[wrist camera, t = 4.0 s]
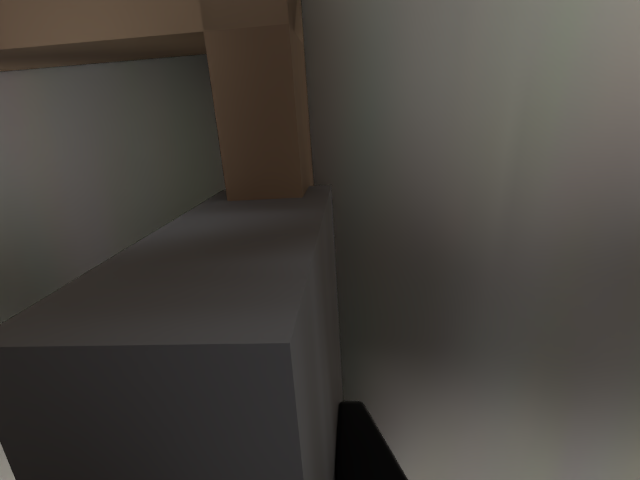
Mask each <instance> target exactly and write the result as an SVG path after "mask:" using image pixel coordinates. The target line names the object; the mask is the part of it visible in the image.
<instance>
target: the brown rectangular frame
mask: <svg viewBox="0 0 640 480" xmlns="http://www.w3.org/2000/svg"><path fill="white" fill-rule="evenodd" d="M200 54H207V60H208V67H209V74H210V82H211V89H212V96H213V103H214V110H215V117H216V124H217V131H218V138H219V146H220V153H221V160H222V167H223V174H224V181H225V188H226V190H222V191H221V192H219V193H217V194H216V195H214V196H212V197H211V198H209V199H207V200H206V201H204V202H202V203H201V204H199V205H198V206H196V207H194V208H193V209H191V210H189V211H188V212H186V213H184V214H183V215H181V216H179V217H178V218H176V219H174V220H173V221H171V222H169V223H168V224H166V225H164V226H163V227H161V228H159V229H158V230H156V231H154V232H153V233H151V234H149V235H148V236H146V237H144V238H143V239H141V240H140V241H138V242H136V243H135V244H133V245H131V246H130V247H128V248H126V249H125V250H123V251H121V252H120V253H118V254H116V255H115V256H113V257H111V258H110V259H108V260H106V261H105V262H103V263H101V264H100V265H98V266H96V267H95V268H93V269H91V270H90V271H88V272H86V273H85V274H83V275H82V276H80V277H78V278H77V279H75V280H73V281H72V282H70V283H68V284H67V285H65V286H63V287H62V288H60V289H58V290H57V291H55V292H53V293H52V294H50V295H48V296H47V297H45V298H43V299H42V300H40V301H38V302H37V303H35V304H33V305H32V306H30V307H28V308H27V309H25V310H24V311H22V312H20V313H19V314H17V315H15V316H14V317H12V318H10V319H9V320H7V321H5V322H4V323H2V324H0V442H1V445H2V447H3V450H4V452H5V455H6V457H7V459H8V462H9V464H10V467H11V469H12V472H13V474H14V477H15V479H16V480H337V471H336V440H337V425H338V409H339V404H340V402H341V401H343V386H342V368H341V349H340V331H339V313H338V295H337V277H336V259H335V241H334V223H333V204H332V186H331V185H319V186H314V182H313V168H312V154H311V139H310V125H309V110H308V96H307V82H306V67H305V53H304V38H303V24H302V10H301V0H0V71H10V70H22V69H34V68H46V67H58V66H70V65H82V64H93V63H105V62H117V61H129V60H141V59H153V58H165V57H177V56H189V55H200Z"/></svg>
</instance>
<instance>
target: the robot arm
mask: <svg viewBox="0 0 640 480" xmlns="http://www.w3.org/2000/svg"><path fill="white" fill-rule="evenodd" d="M336 471H337V480H408V479H407V477H406V475H405V474H404V472H403V470H402V469H401V467H400V465H399V463H398V462H397V460H396V458H395V457H394V455H393V453H392V451H391V450H390V448H389V446H388V445H387V443H386V441H385V439H384V438H383V436H382V434H381V433H380V431H379V429H378V427H377V426H376V424H375V422H374V420H373V419H372V417H371V415H370V414H369V412H368V410H367V408H366V407H365V405H364V404H363V403H362V402H361V401H341V402H340V404H339V409H338V425H337V440H336Z"/></svg>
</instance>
